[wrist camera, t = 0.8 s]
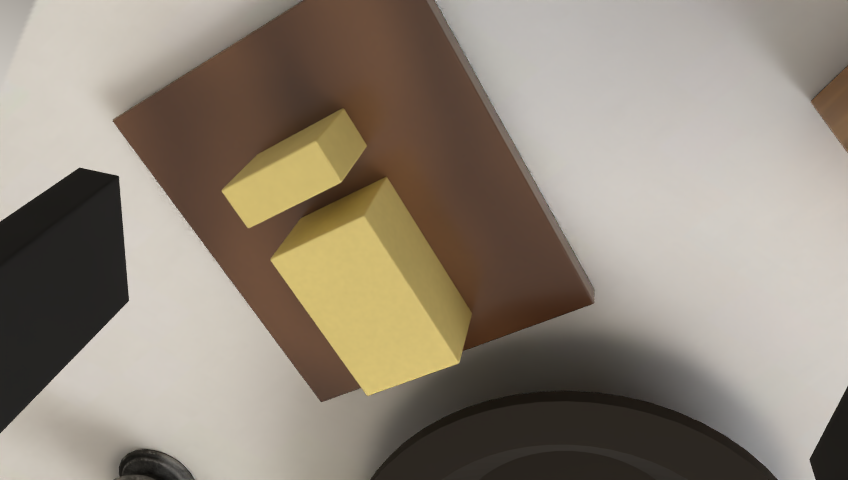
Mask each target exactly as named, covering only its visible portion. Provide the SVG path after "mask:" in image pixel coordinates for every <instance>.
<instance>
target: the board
mask: <svg viewBox="0 0 848 480" xmlns="http://www.w3.org/2000/svg"><path fill="white" fill-rule="evenodd" d="M340 109H345V111H346V113H347V114H348V116H349V117H350V119H351V121H352V122H353V124H354V125H355V127H356V129H357V130H358V132H359V133H360V135H361V137H362V138H363V140H364V141H365V143H366V145H367V147H366V148H365V150H364V151H363V153H362V154H361V155H360V157H359V158H358V160H357V161H356V162H355V164H354V165H353V167H352V168H351V170H350V171H349V172H348V174H347V175H346V177H345V178H344V179H343V181H342V182H341V183H339V184H337V185H335V186H333V187H331V188H329V189H327V190H325V191H323V192H321V193H319V194H317V195H315V196H313V197H311V198H309V199H307V200H305V201H303V202H301V203H299V204H297V205H295V206H293V207H291V208H289V209H287V210H285V211H283V212H281V213H279V214H277V215H275V216H273V217H271V218H269V219H267V220H265V221H263V222H261V223H259V224H257V225H255V226H253V227H251V228H247V226H246V225H245V224H244V222H243V221H242V219H241V218H240V217H239V215H238V214H237V212H236V211H235V210H234V208H233V207H232V205H231V204H230V203H229V201H228V200H227V198H226V197H225V196H224V194H223V193H222V189H223V188H224V187H225V186H226V185H227V184H228V183H229V182H230V181H231V180H232V179H233V178H234V177H235V176H236V175H237V174H238V173H239V172H240V171H241V170H242V169H243V168H244V167H245V166H246V165H247V164H248V163H249V162H250V161H251V160H252V159H253V158H254V157H255V156H256V155H257V154H259V153H261V152H263V151H265V150H267V149H268V148H270V147H272V146H274V145H276V144H278V143H279V142H281V141H283V140H285V139H287V138H289V137H291V136H292V135H294V134H296V133H298V132H300V131H302V130H303V129H305V128H307V127H309V126H311V125H313V124H314V123H316V122H318V121H320V120H322V119H324V118H326V117H327V116H329V115H331V114H333V113H335V112H337V111H338V110H340ZM113 122H114V124H115V125H116V126H117V128H118V129H119V130H120V132H121V133H122V134H123V136H124V137H125V138H126V140H127V141H128V142H129V144H130V145H131V146H132V148H133V149H134V151H135V152H136V153H137V155H138V156H139V157H140V159H141V160H142V161H143V163H144V164H145V165H146V167H147V168H148V169H149V171H150V172H151V173H152V175H153V176H154V177H155V179H156V180H157V182H158V183H159V184H160V186H161V187H162V188H163V190H164V191H165V192H166V194H167V195H168V196H169V198H170V199H171V200H172V202H173V203H174V204H175V206H176V207H177V208H178V210H179V211H180V213H181V214H182V215H183V217H184V218H185V219H186V221H187V222H188V223H189V225H190V226H191V227H192V229H193V230H194V231H195V233H196V234H197V235H198V237H199V238H200V240H201V241H202V242H203V244H204V245H205V246H206V248H207V249H208V250H209V252H210V253H211V254H212V256H213V257H214V258H215V260H216V261H217V262H218V264H219V265H220V266H221V268H222V269H223V271H224V272H225V273H226V275H227V276H228V277H229V279H230V280H231V281H232V283H233V284H234V285H235V287H236V288H237V289H238V291H239V292H240V293H241V295H242V296H243V297H244V299H245V300H246V302H247V303H248V304H249V306H250V307H251V308H252V310H253V311H254V312H255V314H256V315H257V316H258V318H259V319H260V320H261V322H262V323H263V324H264V326H265V327H266V329H267V330H268V331H269V333H270V334H271V335H272V337H273V338H274V339H275V341H276V342H277V343H278V345H279V346H280V347H281V349H282V350H283V351H284V353H285V354H286V355H287V357H288V358H289V360H290V361H291V362H292V364H293V365H294V366H295V368H296V369H297V370H298V372H299V373H300V374H301V376H302V377H303V378H304V380H305V381H306V382H307V384H308V385H309V386H310V388H311V389H312V391H313V392H314V393H315V395H316V396H317V397H318V399H319V400H320V401H321V402H323V401H326V400H329V399H332V398H334V397H337V396H340V395H343V394H346V393H348V392H351V391H354V390H357V389H359V388H361V387H360V385H359V384H358V382H357V381H356V380H355V378H354V377H353V375H352V374H351V373H350V371H349V370H348V368H347V367H346V366H345V364H344V363H343V361H342V360H341V359H340V357H339V356H338V354H337V353H336V352H335V350H334V349H333V347H332V346H331V345H330V343H329V342H328V340H327V339H326V338H325V336H324V335H323V333H322V332H321V331H320V329H319V328H318V326H317V325H316V324H315V322H314V321H313V319H312V318H311V317H310V315H309V314H308V312H307V311H306V310H305V308H304V307H303V305H302V304H301V303H300V301H299V300H298V298H297V297H296V296H295V294H294V293H293V291H292V290H291V289H290V287H289V286H288V284H287V283H286V282H285V280H284V279H283V277H282V276H281V274H280V273H279V272H278V270H277V269H276V267H275V266H274V265H273V263H272V262H271V260H270V259H271V258H272V256H273V255H274V253H275V252H276V251H277V249H278V248H279V247H280V245H281V244H282V243H283V241H284V240H285V239H286V237H287V236H288V235H289V233H290V232H291V231H292V229H293V228H294V227H295V225H296V224H297V223H298V221H299V220H300V219H301V218H302V217H304V216H306V215H308V214H311V213H313V212H315V211H317V210H319V209H321V208H323V207H325V206H327V205H329V204H331V203H333V202H335V201H337V200H339V199H341V198H343V197H345V196H348V195H350V194H352V193H354V192H356V191H358V190H360V189H362V188H364V187H366V186H368V185H370V184H372V183H374V182H376V181H378V180H380V179H383V178H385V177H387V178H388V179H389V181H390V183H391V184H392V186H393V187H394V189H395V191H396V192H397V194H398V196H399V197H400V199H401V200H402V202H403V204H404V205H405V207H406V208H407V210H408V212H409V213H410V215H411V216H412V218H413V220H414V221H415V223H416V224H417V226H418V228H419V229H420V231H421V232H422V234H423V236H424V237H425V239H426V240H427V242H428V244H429V245H430V247H431V248H432V250H433V252H434V253H435V255H436V256H437V258H438V260H439V261H440V263H441V264H442V266H443V268H444V269H445V271H446V272H447V274H448V276H449V277H450V279H451V280H452V282H453V284H454V285H455V287H456V288H457V290H458V292H459V293H460V295H461V296H462V298H463V300H464V301H465V303H466V304H467V306H468V308H469V309H470V311H471V312H472V316H471V320H470V324H469V328H468V332H467V335H466V339H465V343H464V347H463V351H464V350H467V349H470V348H473V347H475V346H478V345H481V344H484V343H486V342H489V341H492V340H495V339H497V338H500V337H503V336H506V335H508V334H511V333H514V332H517V331H519V330H522V329H525V328H528V327H530V326H533V325H536V324H539V323H542V322H544V321H547V320H550V319H553V318H555V317H558V316H561V315H564V314H566V313H569V312H572V311H575V310H577V309H580V308H583V307H586V306H588V305H591V304H593V303H594V289H593V287H592V285H591V283H590V281H589V280H588V278H587V276H586V274H585V272H584V270H583V269H582V267H581V265H580V263H579V261H578V260H577V258H576V256H575V254H574V252H573V250H572V249H571V247H570V245H569V243H568V241H567V240H566V238H565V236H564V234H563V232H562V231H561V229H560V227H559V225H558V223H557V221H556V220H555V218H554V216H553V214H552V212H551V211H550V209H549V207H548V205H547V203H546V202H545V200H544V198H543V196H542V194H541V192H540V191H539V189H538V187H537V185H536V183H535V182H534V180H533V178H532V176H531V174H530V173H529V171H528V169H527V167H526V165H525V163H524V162H523V160H522V158H521V156H520V154H519V153H518V151H517V149H516V147H515V145H514V144H513V142H512V140H511V138H510V136H509V134H508V133H507V131H506V129H505V127H504V125H503V124H502V122H501V120H500V118H499V116H498V115H497V113H496V111H495V109H494V107H493V105H492V104H491V102H490V100H489V98H488V96H487V95H486V93H485V91H484V89H483V87H482V86H481V84H480V82H479V80H478V78H477V76H476V75H475V73H474V71H473V69H472V67H471V66H470V64H469V62H468V60H467V58H466V57H465V55H464V53H463V51H462V49H461V47H460V46H459V44H458V42H457V40H456V38H455V37H454V35H453V33H452V31H451V29H450V28H449V26H448V24H447V22H446V20H445V18H444V17H443V15H442V13H441V11H440V9H439V8H438V6H437V4H436V2H435V0H303V1H301V2H300V3H298V4H297V5H295V6H293V7H292V8H290V9H289V10H287V11H285V12H284V13H282V14H281V15H279V16H277V17H276V18H274V19H273V20H271V21H269V22H268V23H266V24H265V25H263V26H261V27H260V28H258V29H257V30H255V31H253V32H252V33H250V34H249V35H247V36H245V37H244V38H242V39H241V40H239V41H238V42H236V43H234V44H233V45H231V46H230V47H228V48H226V49H225V50H223V51H222V52H220V53H218V54H217V55H215V56H214V57H212V58H210V59H209V60H207V61H206V62H204V63H202V64H201V65H199V66H198V67H196V68H194V69H193V70H191V71H190V72H188V73H186V74H185V75H183V76H182V77H180V78H178V79H177V80H175V81H174V82H172V83H170V84H169V85H167V86H166V87H164V88H162V89H161V90H159V91H158V92H156V93H154V94H153V95H151V96H150V97H148V98H146V99H145V100H143V101H142V102H140V103H138V104H137V105H135V106H134V107H132V108H131V109H129V110H127V111H126V112H124V113H123V114H121V115H119V116H118V117H116V118H115V119H113Z"/></svg>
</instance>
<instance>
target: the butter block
mask: <svg viewBox="0 0 848 480" xmlns="http://www.w3.org/2000/svg"><path fill="white" fill-rule="evenodd" d="M270 260H271V262H272V263H273V265H274V266H275V267H276V269H277V270H278V272H279V273H280V274H281V276H282V277H283V279H284V280H285V282H286V283H287V284H288V286H289V287H290V289H291V290H292V291H293V293H294V294H295V296H296V297H297V298H298V300H299V301H300V303H301V304H302V305H303V307H304V308H305V310H306V311H307V312H308V314H309V315H310V317H311V318H312V319H313V321H314V322H315V324H316V325H317V326H318V328H319V329H320V331H321V332H322V333H323V335H324V336H325V338H326V339H327V340H328V342H329V343H330V345H331V346H332V347H333V349H334V350H335V352H336V353H337V354H338V356H339V357H340V359H341V360H342V361H343V363H344V364H345V366H346V367H347V368H348V370H349V371H350V373H351V374H352V375H353V377H354V378H355V380H356V381H357V382H358V384H359V385H360V387H361V388H362V389H363V391H364V392H365V394H366V395H367V396H369V395H372V394H374V393H377V392H380V391H383V390H386V389H388V388H391V387H394V386H397V385H400V384H402V383H405V382H408V381H411V380H414V379H417V378H419V377H422V376H425V375H428V374H431V373H433V372H436V371H439V370H442V369H445V368H447V367H450V366H453V365H456V364H458V363H459V362H460V359H461V355H462V351H463V347H464V343H465V339H466V335H467V332H468V328H469V324H470V320H471V316H472V312H471V311H470V309H469V308H468V306H467V304H466V303H465V301H464V300H463V298H462V296H461V295H460V293H459V292H458V290H457V288H456V287H455V285H454V284H453V282H452V280H451V279H450V277H449V276H448V274H447V272H446V271H445V269H444V268H443V266H442V264H441V263H440V261H439V260H438V258H437V256H436V255H435V253H434V252H433V250H432V248H431V247H430V245H429V244H428V242H427V240H426V239H425V237H424V236H423V234H422V232H421V231H420V229H419V228H418V226H417V224H416V223H415V221H414V220H413V218H412V216H411V215H410V213H409V212H408V210H407V208H406V207H405V205H404V204H403V202H402V200H401V199H400V197H399V196H398V194H397V192H396V191H395V189H394V187H393V186H392V184H391V183H390V181H389V179H388V178H387V177H385V178H383V179H380V180H378V181H376V182H374V183H372V184H370V185H368V186H366V187H364V188H362V189H360V190H358V191H356V192H354V193H352V194H350V195H348V196H345V197H343V198H341V199H339V200H337V201H335V202H333V203H331V204H329V205H327V206H325V207H323V208H321V209H319V210H317V211H315V212H313V213H311V214H308V215H306V216H304V217H302V218H301V219H300V220H299V221H298V223H297V224H296V225H295V227H294V228H293V229H292V231H291V232H290V233H289V235H288V236H287V237H286V239H285V240H284V241H283V243H282V244H281V245H280V247H279V248H278V249H277V251H276V252H275V253H274V255H273V256H272V258H271V259H270Z"/></svg>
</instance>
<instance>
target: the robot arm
mask: <svg viewBox="0 0 848 480" xmlns="http://www.w3.org/2000/svg"><path fill="white" fill-rule="evenodd" d="M128 301H129V296H128V284H127V272H126V259H125V247H124V235H123V223H122V210H121V198H120V186H119V176H116V175H111V174H107V173H102V172H97V171H93V170H88V169H83V168H78V169H77V170H75V171H74V172H72V173H71V174H70V175H68V176H67V177H65V178H64V179H62V180H61V181H59V182H58V183H56V184H55V185H53V186H52V187H50V188H49V189H48V190H46V191H45V192H43V193H42V194H40V195H39V196H37V197H36V198H34V199H33V200H31V201H30V202H28V203H27V204H26V205H24V206H23V207H21V208H20V209H18V210H17V211H15V212H14V213H12V214H11V215H9V216H8V217H6V218H5V219H3V220H2V221H1V222H0V433H1V432H2V431H3V430H4V429H5V428H6V427H7V426H8V425H9V424H10V423H11V422H12V421H13V420H14V419H15V418H16V417H17V415H18V414H19V413H20V412H21V411H22V410H23V409H24V408H25V407H26V406H27V405H28V404H29V403H30V402H31V401H32V400H33V399H34V398H35V397H36V396H37V395H38V394H39V393H40V392H41V391H42V390H43V389H44V388H45V387H46V386H47V385H48V384H49V383H50V382H51V380H52V379H53V378H54V377H55V376H56V375H57V374H58V373H59V372H60V371H61V370H62V369H63V368H64V367H65V366H66V365H67V364H68V363H69V362H70V361H71V360H72V359H73V358H74V357H75V356H76V355H77V354H78V353H79V352H80V351H81V350H82V349H83V348H84V346H85V345H86V344H87V343H88V342H89V341H90V340H91V339H92V338H93V337H94V336H95V335H96V334H97V333H98V332H99V331H100V330H101V329H102V328H103V327H104V326H105V325H106V324H107V323H108V322H109V321H110V320H111V319H112V318H113V317H114V316H115V315H116V314H117V313H118V311H119V310H120V309H121V308H122V307H123V306H124V305H125V304H126V303H127V302H128ZM809 460H810V463H811V466H812V469H813V472H814V476H815V479H816V480H848V387H847V389H846V391H845V393H844V394H843V396H842V398H841V400H840V402H839V404H838V406H837V408H836V410H835V412H834V414H833V415H832V417H831V419H830V421H829V423H828V425H827V427H826V429H825V431H824V433H823V435H822V436H821V438H820V440H819V442H818V444H817V446H816V448H815V450H814V452H813V454H812V456H811V458H810V459H809Z"/></svg>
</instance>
